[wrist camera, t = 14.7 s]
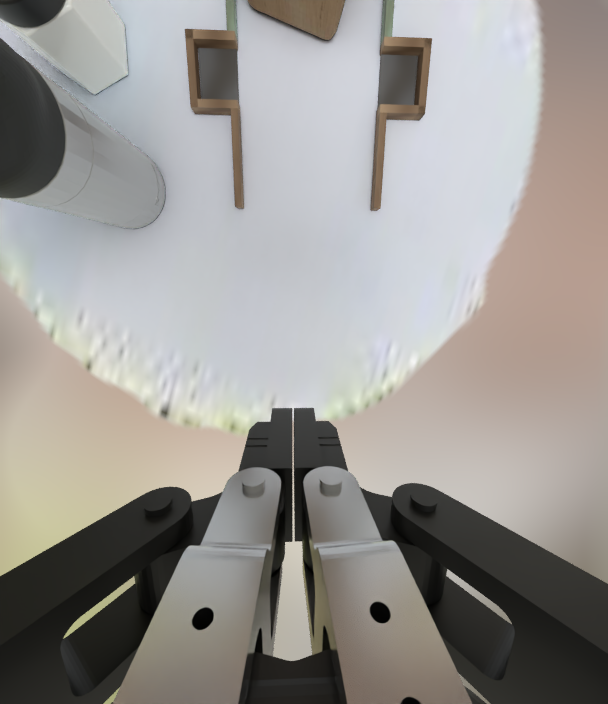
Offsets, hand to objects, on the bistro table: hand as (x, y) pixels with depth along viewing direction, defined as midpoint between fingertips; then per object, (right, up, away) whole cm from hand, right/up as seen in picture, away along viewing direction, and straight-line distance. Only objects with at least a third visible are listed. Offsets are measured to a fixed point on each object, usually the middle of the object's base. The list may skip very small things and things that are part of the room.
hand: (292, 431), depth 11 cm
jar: (-23, +36, +23) cm, 49 cm away
